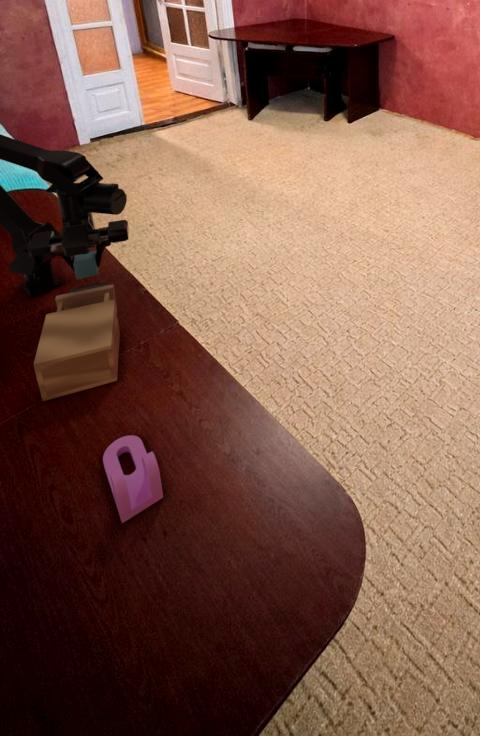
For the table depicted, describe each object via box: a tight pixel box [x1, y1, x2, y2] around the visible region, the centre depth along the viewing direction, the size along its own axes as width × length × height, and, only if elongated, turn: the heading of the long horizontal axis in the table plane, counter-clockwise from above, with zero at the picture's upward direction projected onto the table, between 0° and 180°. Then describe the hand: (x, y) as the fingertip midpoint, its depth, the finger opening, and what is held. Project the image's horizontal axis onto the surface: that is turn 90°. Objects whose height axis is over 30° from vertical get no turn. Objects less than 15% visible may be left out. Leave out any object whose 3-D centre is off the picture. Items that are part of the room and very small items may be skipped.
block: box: [73, 250, 100, 280], centre depth 112 cm, size 4×4×4 cm
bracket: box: [102, 434, 164, 524], centre depth 74 cm, size 13×6×7 cm, turn 42°
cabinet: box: [33, 300, 121, 402], centre depth 93 cm, size 14×12×9 cm
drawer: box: [54, 281, 118, 313], centre depth 101 cm, size 17×10×7 cm, turn 27°
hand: (87, 268), depth 112 cm, fingers closed on block, 4 cm apart
